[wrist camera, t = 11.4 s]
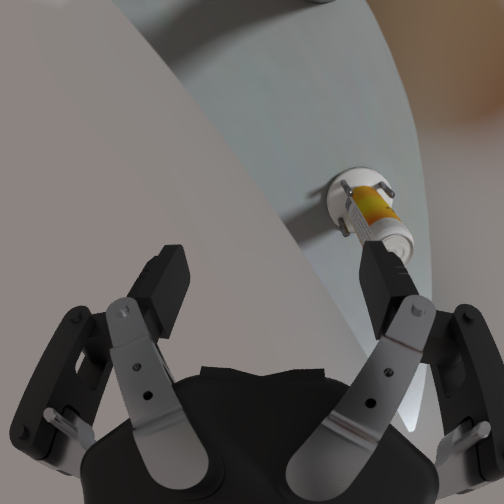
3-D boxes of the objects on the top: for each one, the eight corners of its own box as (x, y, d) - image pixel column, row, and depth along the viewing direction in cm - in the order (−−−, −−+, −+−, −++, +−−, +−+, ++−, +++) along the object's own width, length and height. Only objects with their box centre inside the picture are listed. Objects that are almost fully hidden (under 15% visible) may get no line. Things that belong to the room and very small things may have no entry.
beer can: (375, 220, 42) (408, 276, 30) (341, 217, 43) (364, 276, 30) (382, 185, 39) (423, 233, 26) (345, 182, 39) (375, 229, 27)
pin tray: (327, 165, 39) (334, 176, 35) (393, 169, 38) (407, 180, 33) (324, 229, 45) (329, 247, 41) (385, 229, 44) (395, 247, 39)
